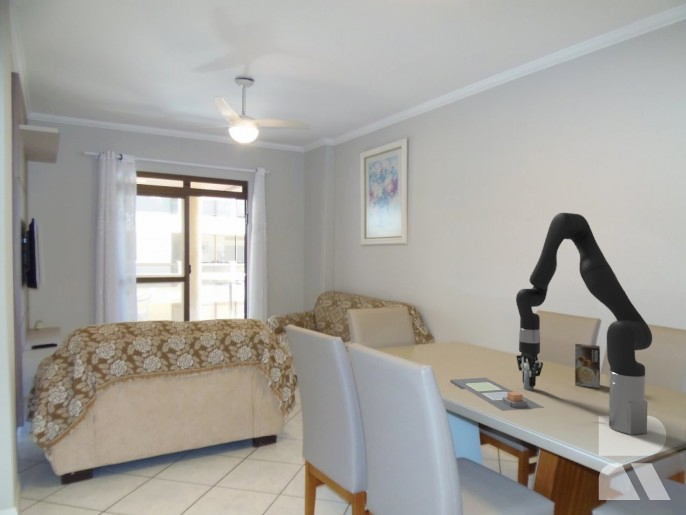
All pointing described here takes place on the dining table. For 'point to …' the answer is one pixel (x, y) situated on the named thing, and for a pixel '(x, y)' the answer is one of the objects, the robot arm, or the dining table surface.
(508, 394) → the button
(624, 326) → the robot arm
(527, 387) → the marker
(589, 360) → the coffee box
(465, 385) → the picture board
